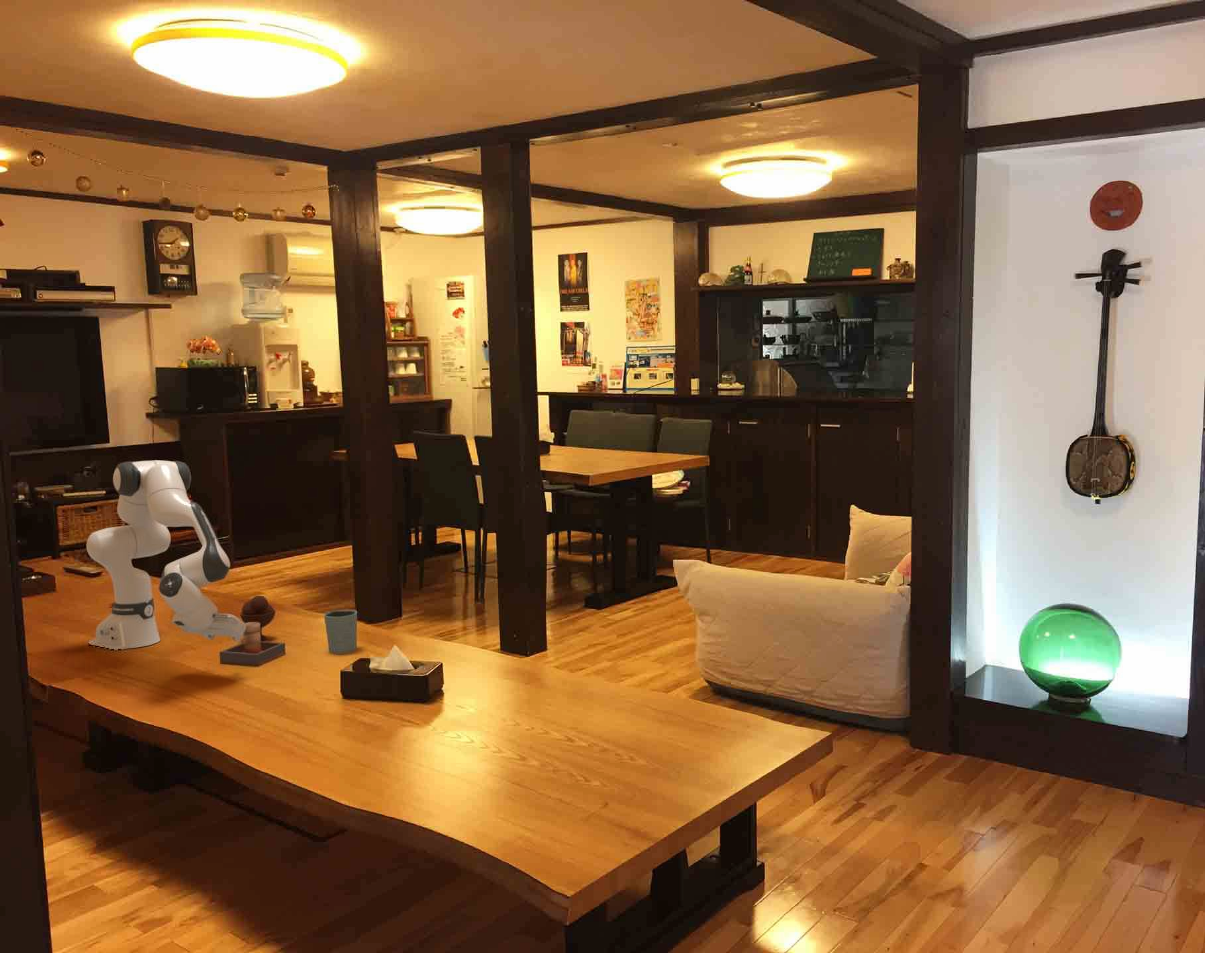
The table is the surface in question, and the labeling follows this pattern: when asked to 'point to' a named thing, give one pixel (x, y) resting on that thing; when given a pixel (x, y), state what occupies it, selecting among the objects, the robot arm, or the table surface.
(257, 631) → the tea canister
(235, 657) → the lacquer tray
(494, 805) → the table surface
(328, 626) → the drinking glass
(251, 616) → the ice cream bowl
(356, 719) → the table surface
